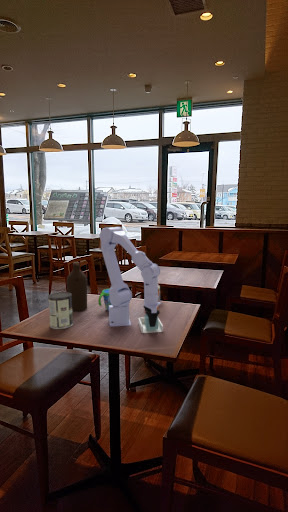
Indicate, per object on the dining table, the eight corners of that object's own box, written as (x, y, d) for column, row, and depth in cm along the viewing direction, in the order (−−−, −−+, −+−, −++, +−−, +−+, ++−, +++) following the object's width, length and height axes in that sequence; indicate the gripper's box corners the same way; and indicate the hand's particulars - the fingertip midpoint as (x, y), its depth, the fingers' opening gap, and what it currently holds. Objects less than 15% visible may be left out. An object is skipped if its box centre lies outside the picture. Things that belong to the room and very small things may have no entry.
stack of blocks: (149, 301, 178) (149, 280, 176) (160, 301, 177) (160, 280, 176) (144, 313, 157) (144, 289, 155) (156, 313, 156) (156, 289, 155)
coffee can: (62, 319, 149) (61, 290, 147) (77, 323, 143) (76, 293, 141) (44, 326, 141) (43, 295, 139) (60, 331, 135) (58, 299, 133)
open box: (141, 334, 130) (141, 327, 130) (138, 324, 142) (138, 317, 141) (163, 332, 131) (163, 325, 131) (157, 322, 143) (157, 316, 143)
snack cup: (102, 314, 155) (102, 294, 154) (95, 309, 165) (94, 290, 163) (130, 309, 163) (130, 290, 162) (121, 304, 172) (121, 286, 171)
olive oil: (92, 309, 165) (90, 262, 161) (74, 313, 158) (72, 264, 154) (81, 304, 173) (79, 260, 169) (64, 309, 166) (61, 262, 162)
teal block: (146, 329, 131) (146, 318, 130) (144, 325, 136) (144, 314, 135) (158, 329, 131) (158, 317, 131) (156, 324, 136) (156, 313, 136)
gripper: (163, 297, 125) (164, 329, 127) (157, 288, 139) (157, 317, 141) (146, 298, 124) (146, 330, 126) (141, 289, 138) (141, 318, 140)
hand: (151, 324), depth 133 cm, fingers closed on teal block, 5 cm apart
